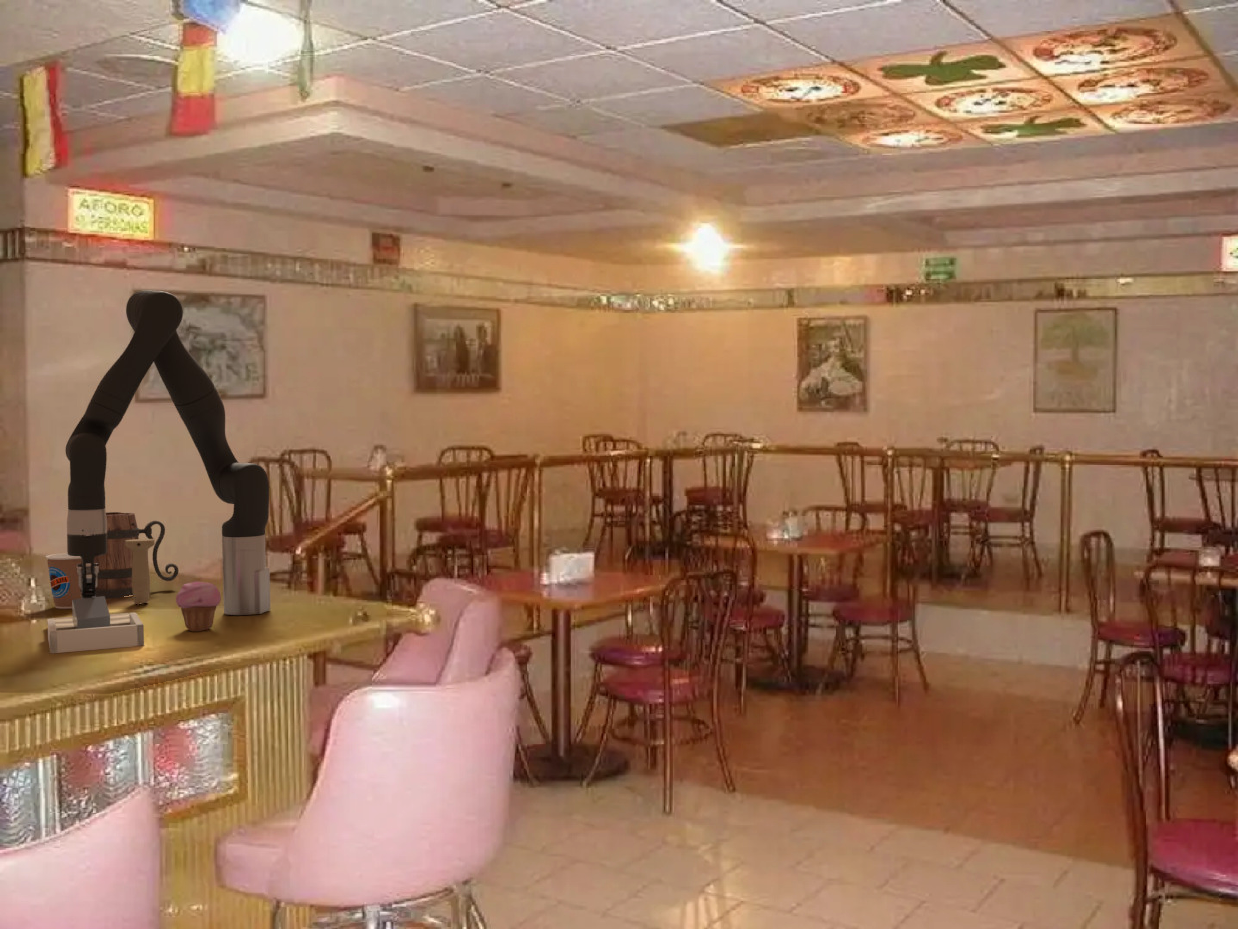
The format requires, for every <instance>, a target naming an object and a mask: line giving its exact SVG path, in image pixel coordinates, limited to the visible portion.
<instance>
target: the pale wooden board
mask: <svg viewBox="0 0 1238 929" xmlns="http://www.w3.org/2000/svg"><path fill="white" fill-rule="evenodd" d="M129 613H130V612H121V613H109V614H110V626H122V625H130V618H129ZM53 618H54V617H52V618H51V617H50V618H46V621H47V622H46V624H47V626H48V619H53ZM54 620H55V625H56V630H57V631H58V630H71V629H75V628H74V624H73V616H65V617H55V618H54ZM47 626H46V627H47Z"/></svg>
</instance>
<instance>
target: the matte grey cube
mask: <svg viewBox="0 0 1238 929" xmlns="http://www.w3.org/2000/svg"><path fill="white" fill-rule="evenodd" d="M71 610H72V617H73V624H74V628H75V629H84V628H97V627H109V626H110V614H111V613H110V610H109V608H108V604H107V599H105V596H101V597H92V598H83V599H74V600H72V608H71Z"/></svg>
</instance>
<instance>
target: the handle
mask: <svg viewBox="0 0 1238 929" xmlns="http://www.w3.org/2000/svg"><path fill="white" fill-rule="evenodd" d="M154 545H155V539H154V538H153V539H148V538H139V539H133V540H125V546H126V547H128V548H130V549H131V550H132V554H133V559H132V590H133V596H134V597H133V602H134V605H136V604H137V605H139V604H140V603H147V602H148V601H149V602H150V597H149V596H150V594H151V593H150V591H151V579H150V578H151V576H150V566H149V564H150V563H149V554H148V553H149V549H150V548H152V547H154ZM149 602H148V603H149Z"/></svg>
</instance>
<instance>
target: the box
mask: <svg viewBox="0 0 1238 929" xmlns="http://www.w3.org/2000/svg"><path fill="white" fill-rule="evenodd" d="M128 613H129V618H130V625H122V626H109V627H97V628H84V629H71V630H58V631H57V630H56V625H55V620H54V617H52V618H53V619H50V618H47V619H48V629H47V640H48V646H49V654H59V653H72V652H73V653H74V652H84V651H86V652H87V651H95V650H107V649H118V648H119V649H121V648H129V647H130V648H131V647H132V648H133V647H143V646H145V630H144V627H145V626H144V623H143V622H142V620H141V618H140V617H139V615H138V614H137V613H136V612H128Z"/></svg>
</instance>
